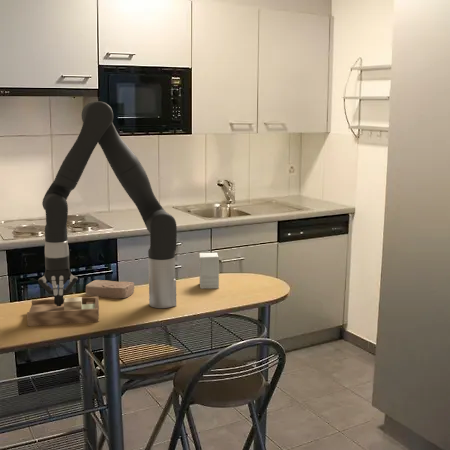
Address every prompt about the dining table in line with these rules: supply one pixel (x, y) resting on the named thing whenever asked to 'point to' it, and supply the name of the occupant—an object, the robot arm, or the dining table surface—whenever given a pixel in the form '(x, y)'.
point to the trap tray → (62, 312)
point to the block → (73, 303)
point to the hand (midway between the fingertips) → (59, 305)
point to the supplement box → (209, 270)
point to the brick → (109, 289)
